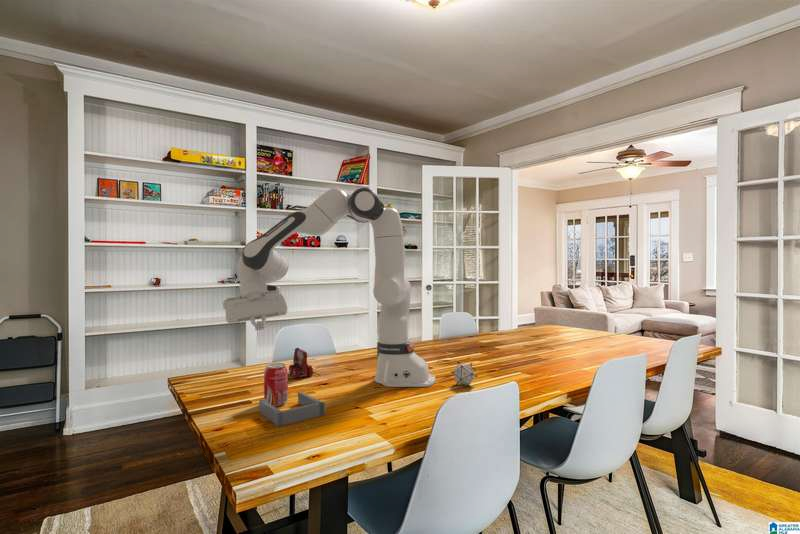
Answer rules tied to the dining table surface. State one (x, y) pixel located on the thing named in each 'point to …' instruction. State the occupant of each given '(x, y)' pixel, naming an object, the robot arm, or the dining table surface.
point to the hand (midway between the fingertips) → (259, 329)
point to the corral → (293, 410)
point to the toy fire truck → (300, 364)
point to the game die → (464, 374)
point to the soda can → (276, 384)
